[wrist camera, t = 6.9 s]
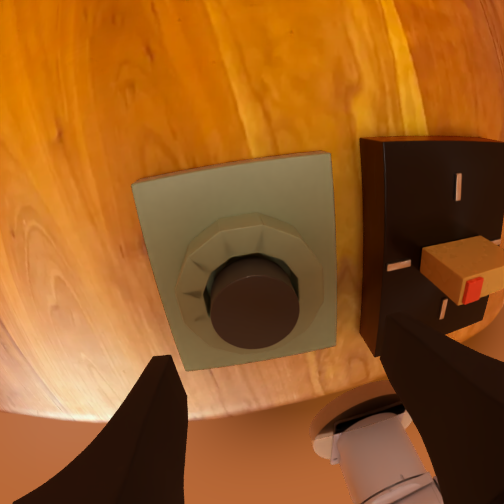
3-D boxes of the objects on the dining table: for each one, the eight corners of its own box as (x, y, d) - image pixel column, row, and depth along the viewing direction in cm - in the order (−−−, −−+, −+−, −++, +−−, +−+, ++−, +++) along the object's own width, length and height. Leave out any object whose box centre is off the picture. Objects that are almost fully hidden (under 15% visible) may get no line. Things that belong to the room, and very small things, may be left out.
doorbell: (330, 334, 19) (346, 366, 16) (186, 358, 19) (183, 394, 16) (322, 150, 15) (346, 157, 12) (136, 179, 14) (118, 193, 11)
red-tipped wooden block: (480, 234, 15) (524, 262, 11) (477, 257, 15) (518, 286, 12) (421, 247, 14) (466, 281, 11) (419, 272, 15) (460, 309, 11)
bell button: (293, 318, 15) (301, 341, 13) (218, 331, 15) (219, 355, 13) (287, 250, 14) (297, 268, 12) (203, 263, 13) (201, 283, 12)
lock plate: (463, 302, 20) (483, 321, 17) (359, 333, 19) (375, 359, 17) (480, 137, 15) (509, 143, 12) (359, 137, 14) (384, 141, 12)
